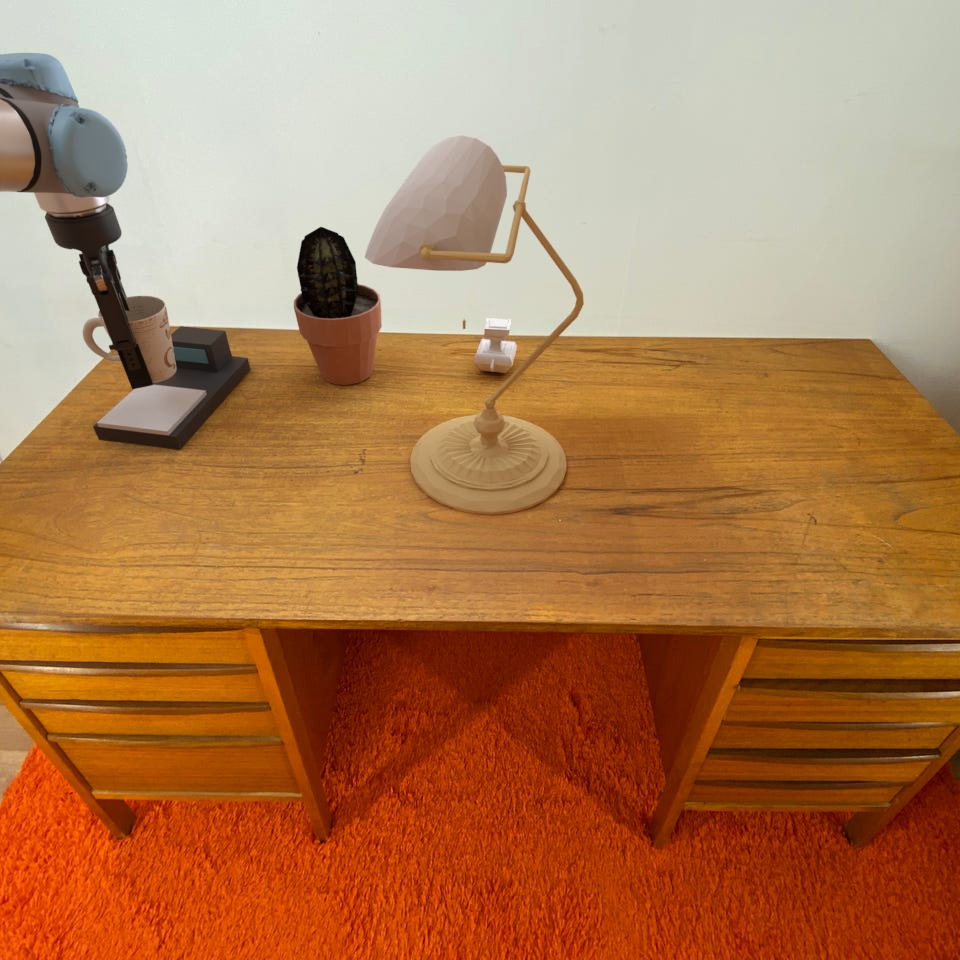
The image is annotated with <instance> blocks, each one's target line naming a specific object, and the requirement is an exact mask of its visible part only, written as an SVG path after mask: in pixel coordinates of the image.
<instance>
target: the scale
mask: <svg viewBox="0 0 960 960" xmlns="http://www.w3.org/2000/svg"><path fill="white" fill-rule="evenodd" d="M171 338H172V344H173V349H174V355H175V361H176V368H177V370H176V373H175V374H174V375H173V376H172V377H170V378H168V379H166V380H164V381H161V382H157V383H153V385H152V386H147V387H142V388H137V389H131V391H130V392H129V393H128V394H127V395H126V396H124V397H123V398H122V399H121V400H120V401H119V402H118V403H117V404H116V405H114V407H112V408H111V409H110V410H109V411H108V412H107V413H106V414H104V415H103V416H102V417H101V418H100V419H98V420H97V422H96V423H95V424H93V425H92V429H93V431H94V432H95V435H96V437H97V439H98V440H100V441H106V442H107V441H108V442H115V443H116V442H117V443H124V444H131V445H139V446H147V447H155V448H162V449H169V450H170V449H171V450H179V451H181V449H182V448H183V447H184V446H185V445H186V444H187V443H188V442H189V441H190V440H191V438H192V437H193V436H194V435H195V434H196V432H197V431H198V430H199V429H200V428H201V427H202V426H203V425H204V424H205V422H207V420H208V419H209V418H210V417H211V416H212V414H213V413H214V412H215V411H216V410H217V409H218V408H219V407H220V406H221V405H222V403H223V402H224V401H225V400H226V399H227V397H229V395H230V394H231V393H232V392H233V391H234V390H235V388H236V387H237V386H238V385H239V384H240V383H241V382H242V381H243V379H244V378H245V377H246V376H247V375H248V374H249V373H250V372H251V370H252V369H251V366H250V361H249V358H248V357H243V356H234V355H232V351H231V347H230V343H229V340H228V336H227V332H226V330H220V329H211V328H203V327H202V328H201V327H191V326H183V325H181V326H179V327H178V328H177V329H175V330H174V331H173V332H171Z"/></svg>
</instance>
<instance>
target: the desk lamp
mask: <svg viewBox="0 0 960 960" xmlns="http://www.w3.org/2000/svg"><path fill="white" fill-rule="evenodd" d="M506 173H514V174H515V173H516V174H523V177H522V181H521V184H520V185H521V186H520V190H519V193H518V198H517V199H516V200H514V203H513V204H512V209H513V212H514V214H513V219H512V223H511V227H510V231H509V236H508V241H507V245H506V249H505V253H499V252H498V253H497V252H492V249H493V246H494V242H495V239H496V236H497V231H498V228H499V225H500V221H501V217H502V214H503V211H504V207H505V204H506V201H507V197H508V186H507V177H506ZM530 176H531V168H530V166H528V165H513V164H512V165H511V164H510V165H508V164H502V162H501V160H500V159H499V157H498V154H496V152H495V151H494V149H493V148H492V147H491V146H490V145H488V144H486V143H485V142H483V141H482V140H480V139H478V138H477V137H472V136H467V135H456V136H455V135H454V136H449V137H446V138H445V139H443V140H441V141H439V142H437V143H435V144H434V145H432V146H431V147H430V148H429V149H428V150H427V151H426V152H425V153H424V154H423V156H421V158H420V160H419V161H418V162H417V163H416V165H415V166H414V168H413V169H412V171H411V172H410V173H409V175H408V176H407V178H406V179H405V180H404V181H403V183H402V184H401V186H400V187H399V188H398V189H397V191H396V192H395V193H394V195H393V196H392V198H391V199H390V201H389V202H388V203H387V205H386V206H385V208H384V210H383V212H382V213H381V215H380V217H379V219H378V221H377V223H376V225H375V227H374V229H373V233H372V234H371V236H370V239H369V242H368V244H367V247H366V249H365V254H364V258H365V260H367V261H369V262H370V263H371V264H374V265H377V266H382V267H387V268H396V269H407V270H408V269H409V270H410V269H411V270H424V271H435V272H436V271H442V272H445V271H446V272H465V271H473V270H478V269H480V268H482V267H484V266H486V264H487V263H492V264H508V263H509V262H511V261H512V259H513V256H514V254H515V251H516V250H515V249H516V244H517V239H518V234H519V230H520V226H521V225H520V224H521V219H523V221H524V222H525V223H526V225H527V226H528V228H529V229H530V230H531V232H532V233H533V235H534V236H535V237H536V239H537V240H538V241H539V243H540V244H541V246H542V247H543V249H544V250H545V251H546V253H547V254H548V256H549V257H550V258H551V260H552V261H553V263H554V264H555V265H556V267H557V268H558V269H559V271H560V272H561V273H562V275H563V276H564V278H565V280H567V282H568V283H569V285H570V286H571V290H572V292H573V293H574V296H575V298H576V300H575V303H574V304H575V305H574V307H573V309H572V311H571V312H570V314H568V316H567V317H566V318H565V319H564V320H563V321H562V322H561V323H560V324H559V325H558V326H557V327H556V328H555V329H554V330H553V331H552V332H551V333H550V335H548V336H547V338H545V340H544V341H542V343H541V344H539V346H538V347H537V348H536V349H535V350H534V351H533V352H532V353H531V354H530V355H529V356H528V357H527V358H526V359H525V360H524V361H523V362H522V363H521V364H520V366H518V368H516V370H515V371H514V372H512V374H511V375H510V376H509V377H508V378H507V379H506V380H505V381H504V382H503V383H502V384H501V385H500V386H499V387H498V388H497V389H496V390H495V391H494V392H493V393H492V394H491V395H490V396H489V397H487V398H485V399H484V406H483V408H482V410H480V411H479V412H478V413H476V414H470V415H465V416H459V417H455V418H452V419H448V420H445V421H444V422H441V423H439V424H437V425H436V426H434V427H432V428H430V429H428V430H427V431H426V432H425V433H424V434H423V435H422V436H421V437H420V438H418V440H417V441H416V443H415V445H414V446H413V447H412V450H411V454H410V459H409V464H410V472H411V476H412V478H413V479H414V481H415V482H414V483H416V486H418V488H420V489H421V491H422V492H423V493H424V494H425V495H426V496H428V497H429V498H431V499H432V500H434V501H435V502H437V503H438V504H439V505H443V506H445V507H448V508H451V509H453V510H455V511H460V512H463V513H469V514H473V515H491V516H495V515H503V514H513V513H516V512H520V511H524V510H528V509H531V508H533V507H534V506H536V505H539V504H542V503H543V502H545V501H546V500H547V499H548V498H550V497H551V496H552V495H553V494H555V493H556V492H557V491H558V490H559V488H560V486H561V485H562V483H563V482H564V479H565V476H566V472H567V469H568V468H567V456H566V454H565V452H564V449H563V447H562V445H561V444H560V443H559V442H558V441H557V439H556V438H555V437H554V436H553V435H552V434H550V433H549V432H548V431H547V430H545V429H544V428H542V427H541V426H538V425H536V424H534V423H532V422H530V421H527V420H523V419H522V418H517V417H514V416H511V415H504V414H502V413H501V412H499V411H498V410H497V407H496V401H497V400H498V399H499V398H500V397H501V396H502V395H503V394H504V393H505V392H506V391H507V390H508V389H509V388H510V387H511V386H512V385H513V384H514V383H515V381H517V380H518V379H519V377H520V376H522V374H523V373H524V372H525V371H526V370H527V369H528V368H529V367H530V366H531V365H532V364H534V362H535V361H536V360H537V359H538V358H539V357H540V356H541V355H542V354H543V353H544V352H545V351H546V350H547V349H548V348H549V347H550V346H551V345H552V344H553V342H555V341H556V340H557V338H559V336H560V335H562V334H563V332H565V331H566V329H567V328H568V327H569V326H570V325H572V323H573V322H574V321H576V320H577V318H578V317H579V315H580V313H581V311H582V309H583V306H584V304H585V303H584V292H583V291H582V287H580V284H579V282H578V280H577V279H576V277H575V276H574V275H573V273H572V272H571V270H570V269H569V268H568V266H567V265H566V263H565V261H564V260H563V259H562V257H560V255H559V254H558V252H557V251H556V250H555V248H554V247H553V246H552V244H551V242H550V241H549V240H548V238H547V237H546V236H545V234H544V233H543V231H542V230H541V228H540V227H539V226H538V224H537V223H536V222H535V220H534V219H533V218H532V216H531V215H530V213H529V212H528V211H527V205H526V202H525V199H526V195H527V191H528V185H529V181H530ZM466 324H467V323H466V319H462V329H463V330H466V326H467V325H466Z"/></svg>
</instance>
